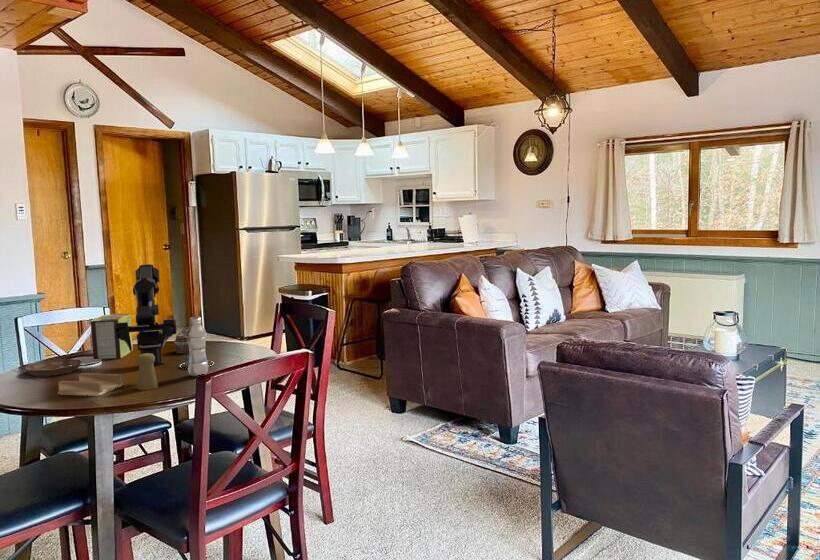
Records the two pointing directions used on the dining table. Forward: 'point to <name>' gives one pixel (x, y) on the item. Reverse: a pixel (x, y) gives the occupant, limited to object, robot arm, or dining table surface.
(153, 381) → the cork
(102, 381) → the cradle
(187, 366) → the patterned bowl
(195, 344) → the plastic bottle
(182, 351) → the cupcake
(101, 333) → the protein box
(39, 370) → the plant saucer
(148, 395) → the dining table surface
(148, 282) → the robot arm
